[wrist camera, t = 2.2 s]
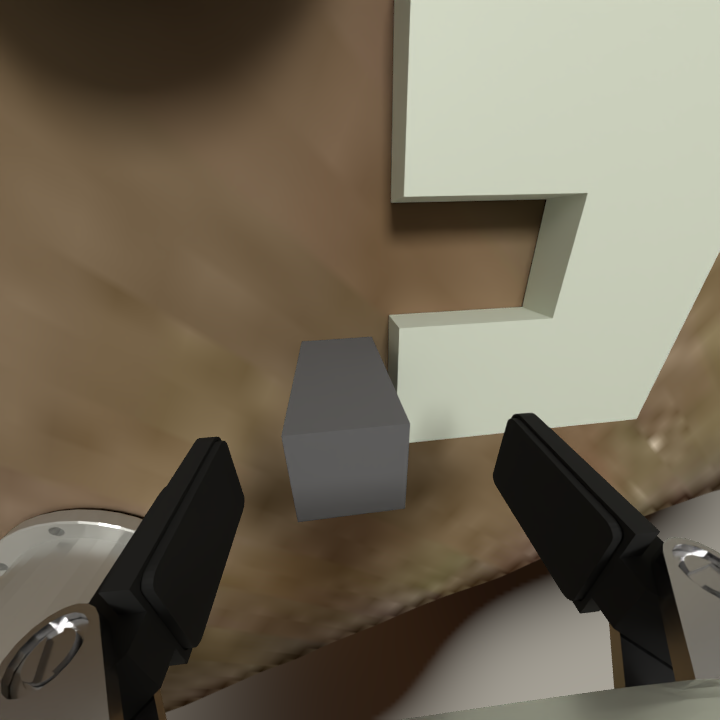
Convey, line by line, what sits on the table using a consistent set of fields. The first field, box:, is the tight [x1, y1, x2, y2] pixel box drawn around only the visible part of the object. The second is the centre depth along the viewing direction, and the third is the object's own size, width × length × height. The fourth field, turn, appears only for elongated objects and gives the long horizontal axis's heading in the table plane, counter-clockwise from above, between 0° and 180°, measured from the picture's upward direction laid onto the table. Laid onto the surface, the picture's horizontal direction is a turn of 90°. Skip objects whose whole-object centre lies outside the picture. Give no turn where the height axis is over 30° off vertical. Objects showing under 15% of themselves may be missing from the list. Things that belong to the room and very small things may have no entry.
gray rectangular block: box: [281, 337, 410, 522], centre depth 13 cm, size 4×4×8 cm
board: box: [388, 0, 720, 443], centre depth 14 cm, size 20×16×2 cm
